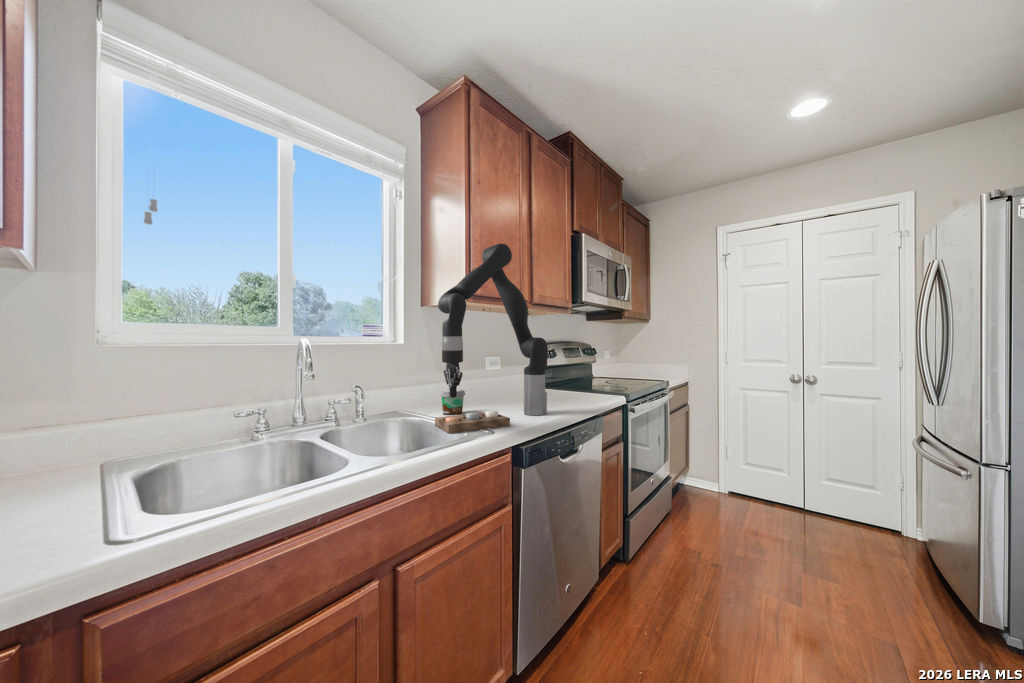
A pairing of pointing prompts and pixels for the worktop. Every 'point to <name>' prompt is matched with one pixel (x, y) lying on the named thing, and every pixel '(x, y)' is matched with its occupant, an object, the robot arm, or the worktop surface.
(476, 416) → the slate button
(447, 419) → the terracotta button
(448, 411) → the food container
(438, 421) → the button panel
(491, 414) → the cream button
